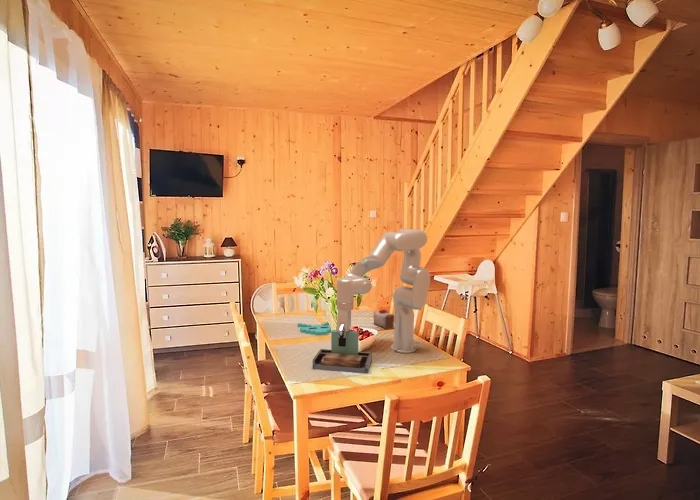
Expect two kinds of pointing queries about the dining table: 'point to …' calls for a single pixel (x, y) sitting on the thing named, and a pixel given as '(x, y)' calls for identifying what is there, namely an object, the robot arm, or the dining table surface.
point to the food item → (383, 319)
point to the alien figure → (315, 329)
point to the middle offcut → (338, 363)
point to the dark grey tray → (363, 369)
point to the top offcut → (343, 358)
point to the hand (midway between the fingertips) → (344, 342)
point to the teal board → (351, 343)
